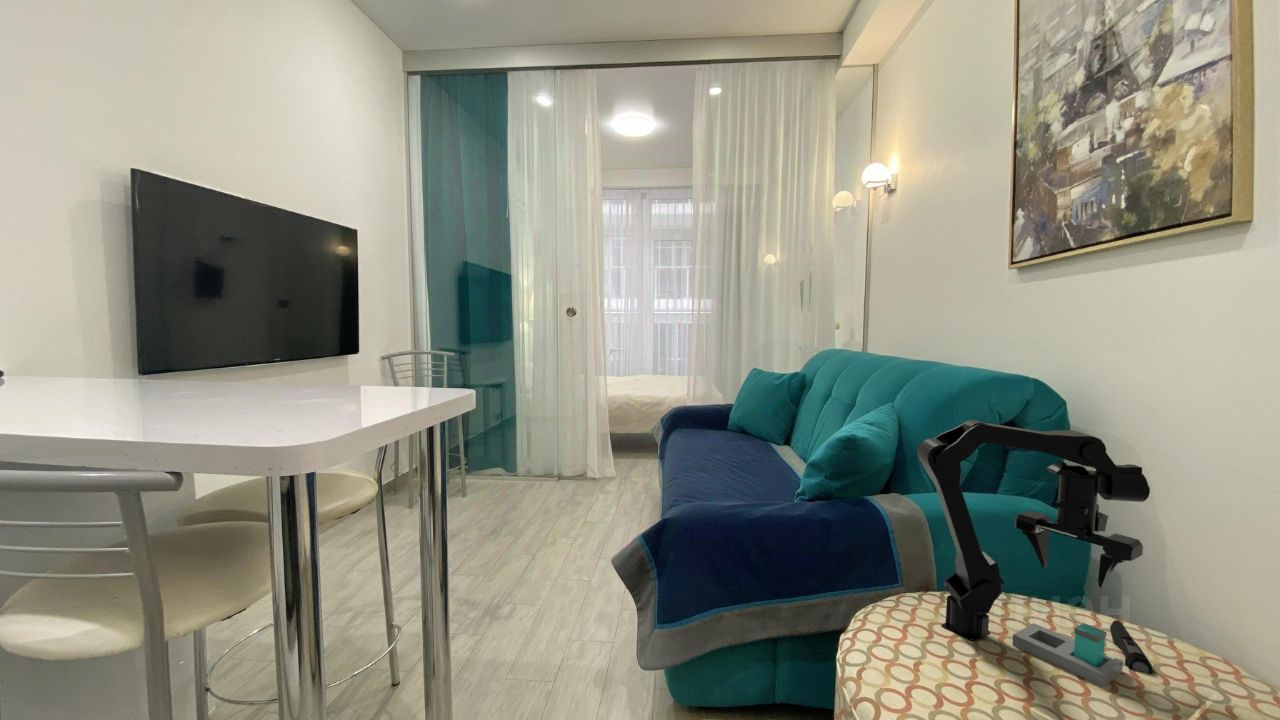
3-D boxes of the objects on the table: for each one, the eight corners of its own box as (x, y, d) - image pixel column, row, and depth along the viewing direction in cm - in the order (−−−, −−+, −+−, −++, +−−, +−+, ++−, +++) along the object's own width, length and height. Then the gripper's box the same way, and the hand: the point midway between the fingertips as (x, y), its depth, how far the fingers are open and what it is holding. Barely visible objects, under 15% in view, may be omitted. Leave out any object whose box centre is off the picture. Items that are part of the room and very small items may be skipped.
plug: (1072, 665, 98) (1074, 627, 98) (1080, 659, 100) (1083, 622, 100) (1095, 676, 95) (1098, 637, 95) (1103, 670, 97) (1106, 632, 97)
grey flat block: (1012, 647, 105) (1013, 633, 105) (1032, 635, 109) (1033, 622, 109) (1102, 689, 93) (1103, 674, 93) (1122, 674, 97) (1123, 659, 97)
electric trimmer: (1128, 637, 109) (1130, 622, 109) (1154, 679, 96) (1156, 662, 96) (1104, 632, 111) (1105, 616, 111) (1126, 673, 98) (1127, 655, 98)
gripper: (1157, 505, 101) (1151, 587, 102) (1041, 479, 117) (1037, 551, 118) (1133, 515, 95) (1126, 602, 96) (1015, 487, 111) (1011, 562, 112)
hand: (1071, 576), depth 106 cm, fingers open, 9 cm apart
